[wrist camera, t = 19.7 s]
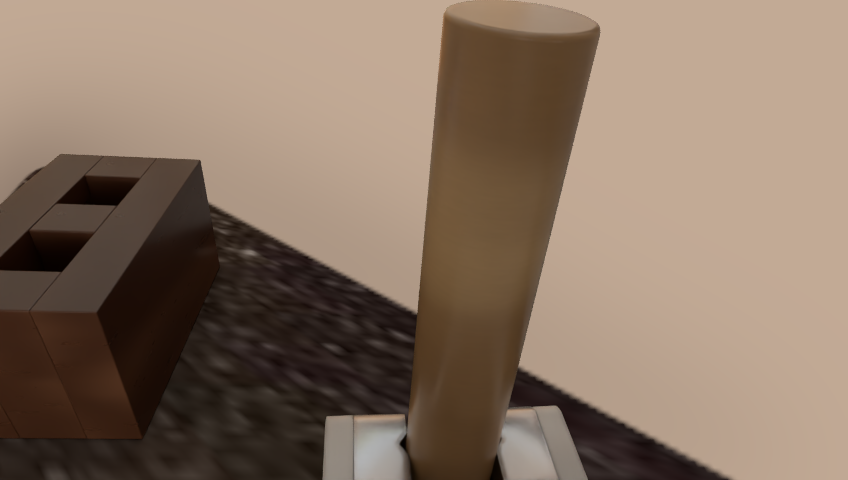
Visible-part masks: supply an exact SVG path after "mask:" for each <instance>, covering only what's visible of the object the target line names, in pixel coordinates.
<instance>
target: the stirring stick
mask: <svg viewBox="0 0 848 480" xmlns="http://www.w3.org/2000/svg"><path fill="white" fill-rule="evenodd" d="M599 37H600V27H599V25H598V24H597V23H596V22H595V21H593V20H592V19H590V18H588V17H586V16H584V15H582V14H579V13H576V12H573V11H569V10H566V9H562V8H558V7H553V6H548V5H542V4H535V3H527V2H519V1H506V0H475V1H466V2H461V3H457V4H454V5H451V6H449V7H448V8H447V9H446V11H445V13H444V16H443V27H442V38H441V50H440V62H439V73H438V84H437V97H436V107H435V119H434V130H433V141H432V153H431V164H430V176H429V187H428V198H427V210H426V221H425V233H424V245H423V257H422V267H421V280H420V290H419V301H418V313H417V324H416V336H415V347H414V359H413V370H412V382H411V393H410V405H409V416H408V427H407V439H406V450H405V451H406V452H407V454H408V455H409V460H410V471H411V480H490V478H491V474H492V470H493V466H494V462H495V458H496V454H497V450H498V446H499V442H500V438H501V434H502V430H503V426H504V422H505V418H506V413H507V409H508V405H509V401H510V397H511V393H512V389H513V385H514V381H515V377H516V373H517V369H518V365H519V361H520V357H521V353H522V348H523V345H524V340H525V336H526V332H527V328H528V324H529V320H530V316H531V312H532V308H533V304H534V300H535V296H536V292H537V288H538V284H539V279H540V276H541V272H542V267H543V264H544V259H545V255H546V251H547V247H548V243H549V239H550V235H551V231H552V227H553V223H554V219H555V215H556V211H557V207H558V203H559V198H560V195H561V191H562V187H563V182H564V178H565V174H566V170H567V166H568V162H569V158H570V154H571V150H572V146H573V142H574V138H575V134H576V130H577V126H578V122H579V117H580V114H581V110H582V105H583V102H584V97H585V93H586V89H587V85H588V81H589V77H590V73H591V69H592V65H593V61H594V57H595V53H596V49H597V45H598V40H599Z"/></svg>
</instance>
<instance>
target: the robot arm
mask: <svg viewBox="0 0 848 480" xmlns="http://www.w3.org/2000/svg"><path fill="white" fill-rule="evenodd" d="M353 432H354V455H353ZM406 437H407V429H406V420H405V414H385V415H354V423H353V415H345V416H327V418H326V423H325V440H324V462H323V480H411V471H410V460H409V455H408V454H407V452H406V451H405V450H406ZM490 480H588V479H587V476H586V474H585V471H584V469H583V466H582V464H581V461H580V458H579V456H578V453H577V451H576V448H575V446H574V443H573V441H572V438H571V436H570V433H569V430H568V428H567V425H566V423H565V420H564V418H563V415H562V413H561V410H560V409H559V408H558V407H557V406H541V407H530V406H528V407H512V408H508V409H507V413H506V418H505V422H504V426H503V430H502V434H501V438H500V442H499V446H498V450H497V454H496V458H495V462H494V466H493V470H492V474H491V478H490Z"/></svg>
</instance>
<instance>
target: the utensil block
mask: <svg viewBox="0 0 848 480" xmlns="http://www.w3.org/2000/svg"><path fill="white" fill-rule="evenodd" d="M219 267H220V265H219V260H218V254H217V249H216V244H215V238H214V233H213V227H212V222H211V216H210V211H209V205H208V200H207V194H206V189H205V183H204V178H203V172H202V167H201V161H200V160H191V159H166V158H143V157H118V156H93V155H70V154H60V155H59V156H57V157H56V158H55V159H54V160H53V161H52V162H50V163H49V164H48V165H47V166H45V167H44V168H43V169H42V170H41V171H40V172H38V173H37V174H36V175H35V176H34V177H32V178H31V179H30V180H29V181H28V182H26V183H25V184H24V185H23V186H22V187H20V188H19V189H18V190H17V191H16V192H14V193H13V194H12V195H11V196H10V197H8V198H7V199H6V200H5V201H4V202H3V203H1V204H0V438H85V439H86V438H88V439H143V437H144V434H145V432H146V430H147V428H148V426H149V423H150V421H151V419H152V417H153V414H154V412H155V410H156V408H157V405H158V403H159V401H160V399H161V396H162V394H163V392H164V390H165V388H166V385H167V383H168V381H169V379H170V376H171V374H172V372H173V370H174V367H175V365H176V363H177V361H178V358H179V356H180V354H181V352H182V350H183V347H184V345H185V343H186V341H187V338H188V336H189V334H190V332H191V329H192V327H193V325H194V323H195V321H196V318H197V316H198V314H199V312H200V309H201V307H202V305H203V303H204V300H205V298H206V296H207V294H208V291H209V289H210V287H211V285H212V283H213V280H214V278H215V276H216V274H217V271H218V269H219Z"/></svg>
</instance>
